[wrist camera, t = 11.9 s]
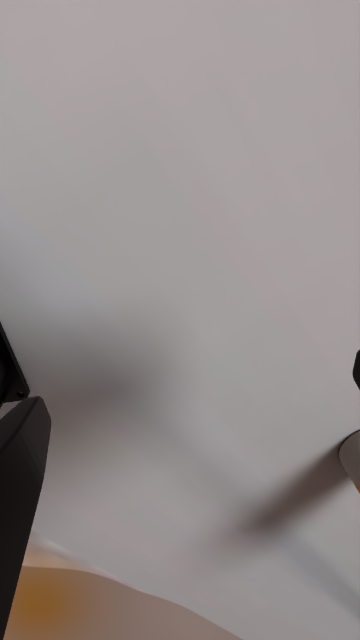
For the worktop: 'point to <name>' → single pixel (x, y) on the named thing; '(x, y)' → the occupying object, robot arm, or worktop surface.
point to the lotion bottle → (351, 458)
